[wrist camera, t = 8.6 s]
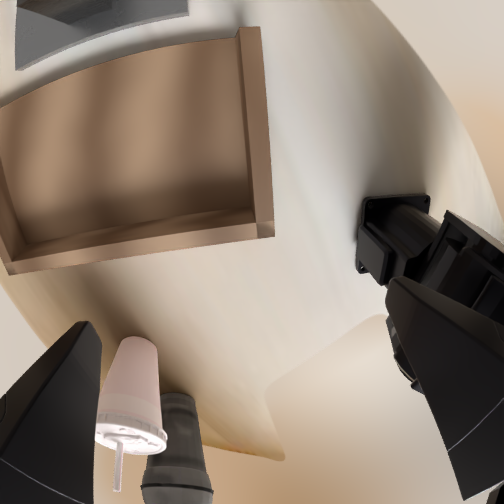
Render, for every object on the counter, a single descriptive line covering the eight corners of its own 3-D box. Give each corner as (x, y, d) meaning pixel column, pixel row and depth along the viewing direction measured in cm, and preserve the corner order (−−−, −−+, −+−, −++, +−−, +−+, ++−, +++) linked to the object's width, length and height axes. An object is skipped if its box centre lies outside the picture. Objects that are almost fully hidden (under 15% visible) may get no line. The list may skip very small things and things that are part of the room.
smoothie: (93, 339, 23) (60, 475, 11) (141, 315, 22) (116, 478, 10) (137, 375, 26) (125, 500, 14) (185, 358, 26) (186, 499, 14)
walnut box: (250, 40, 14) (260, 26, 11) (264, 213, 19) (275, 236, 16) (-8, 115, 12) (-37, 123, 9) (29, 251, 18) (9, 275, 15)
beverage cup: (190, 381, 28) (201, 565, 10) (216, 410, 31) (234, 560, 14) (134, 391, 28) (125, 556, 11) (165, 418, 32) (168, 558, 14)
